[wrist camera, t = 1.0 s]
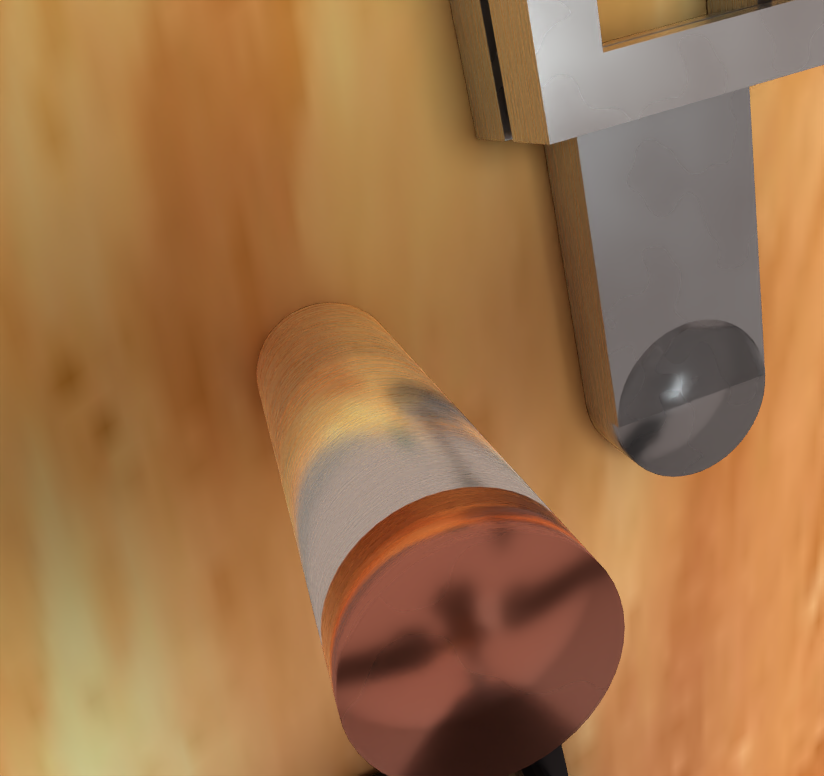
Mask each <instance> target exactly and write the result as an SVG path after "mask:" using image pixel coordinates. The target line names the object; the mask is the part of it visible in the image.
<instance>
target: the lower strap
mask: <svg viewBox="0 0 824 776" xmlns="http://www.w3.org/2000/svg"><path fill="white" fill-rule="evenodd" d="M769 2H772V0H707V8H708V14H707V15H703V16H700V17H696V18H692V19H689V20H685V21H681V22H678V23H674V24H670V25H667V26H663V27H659V28H656V29H652V30H648V31H645V32H641V33H637V34H633V35H630V36H626V37H622V38H619V39H615V40H611V41H608V42H604V43H602V47H603V48H604V47H607V46H611V45H615V44H618V43H622V42H626V41H629V40H633V39H637V38H640V37H644V36H648V35H651V34H655V33H659V32H662V31H666V30H670V29H673V28H677V27H681V26H684V25H688V24H692V23H695V22H699V21H703V20H706V19H710V18H714V17H717V16H721V15H725V14H728V13H732V12H736V11H739V10H743V9H747V8H750V7H754V6H758V5H761V4H765V3H769ZM450 5H451V10H452V15H453V20H454V25H455V30H456V35H457V41H458V46H459V51H460V56H461V61H462V66H463V71H464V76H465V81H466V86H467V91H468V97H469V102H470V107H471V112H472V117H473V122H474V127H475V132H476V137H477V139H483V140H496V141H508V140H511V139H513V138H512V132H511V126H510V121H509V115H508V109H507V104H506V98H505V93H504V87H503V81H502V76H501V70H500V64H499V59H498V53H497V48H496V42H495V36H494V31H493V25H492V19H491V14H490V8H489V3H488V0H450ZM544 147H545V153H546V159H547V165H548V172H549V178H550V184H551V190H552V196H553V202H554V209H555V215H556V221H557V227H558V233H559V239H560V246H561V252H562V258H563V264H564V270H565V276H566V283H567V289H568V295H569V301H570V307H571V313H572V320H573V326H574V332H575V338H576V344H577V350H578V357H579V363H580V369H581V375H582V381H583V387H584V394H585V400H586V405H587V410H588V414H589V416H590V419H591V421H592V423H593V425H594V426H595V428H596V429H597V431H598V432H599V433H600V434H601V435H602V436H603V437H604V438H605V439H606V440H607V441H609V442H610V443H611V444H613V445H614V446H615V447H616V448H618V449H619V450H620V451H622V452H623V453H624V454H625V455H627V456H628V457H629V458H631V459H632V460H633V461H634V462H636V463H637V464H638V465H640V466H641V467H643V468H644V469H646V470H647V471H650V472H652V473H655V474H658V475H662V476H671V477H675V476H685V475H690V474H694V473H697V472H700V471H702V470H705V469H707V468H709V467H711V466H712V465H714V464H716V463H718V462H719V461H720V460H722V459H723V458H724V457H726V456H727V455H728V454H729V453H730V452H731V451H732V450H734V449H735V447H736V446H737V445H738V444H739V443H740V442H741V441H742V439H743V438H744V437H745V435H746V434H747V433H748V431H749V430H750V428H751V426H752V425H753V423H754V421H755V419H756V416H757V414H758V412H759V409H760V406H761V403H762V399H763V395H764V387H765V366H764V348H763V329H762V311H761V293H760V275H759V256H758V238H757V220H756V202H755V183H754V165H753V147H752V129H751V110H750V92H749V87H746V88H742V89H739V90H735V91H732V92H728V93H725V94H722V95H718V96H715V97H711V98H708V99H705V100H701V101H698V102H694V103H691V104H687V105H684V106H681V107H677V108H674V109H670V110H667V111H664V112H660V113H657V114H653V115H650V116H646V117H643V118H640V119H636V120H633V121H629V122H626V123H622V124H619V125H616V126H612V127H609V128H605V129H602V130H599V131H595V132H592V133H588V134H585V135H581V136H578V137H575V138H571V139H568V140H564V141H561V142H558V143H554V144H551V145H547V144H544Z"/></svg>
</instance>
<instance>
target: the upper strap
mask: <svg viewBox="0 0 824 776" xmlns="http://www.w3.org/2000/svg"><path fill="white" fill-rule="evenodd" d="M488 3H489V8H490V14H491V19H492V25H493V31H494V36H495V42H496V48H497V53H498V59H499V64H500V70H501V76H502V81H503V87H504V93H505V98H506V104H507V109H508V115H509V121H510V126H511V132H512V138H513V142H521V143H534V144H547V145H551V144H554V143H558V142H561V141H564V140H568V139H571V138H575V137H578V136H581V135H585V134H588V133H592V132H595V131H599V130H602V129H605V128H609V127H612V126H616V125H619V124H622V123H626V122H629V121H633V120H636V119H640V118H643V117H646V116H650V115H653V114H657V113H660V112H664V111H667V110H670V109H674V108H677V107H681V106H684V105H687V104H691V103H694V102H698V101H701V100H705V99H708V98H711V97H715V96H718V95H722V94H725V93H728V92H732V91H735V90H739V89H742V88H746V87H749V86H752V85H756V84H759V83H763V82H766V81H769V80H773V79H776V78H780V77H783V76H787V75H790V74H793V73H797V72H800V71H804V70H807V69H811V68H814V67H817V66H821V65H824V0H772V2H769V3H765V4H761V5H758V6H754V7H750V8H747V9H743V10H739V11H736V12H732V13H728V14H725V15H721V16H717V17H714V18H710V19H706V20H703V21H699V22H695V23H692V24H688V25H684V26H681V27H677V28H673V29H670V30H666V31H662V32H659V33H655V34H651V35H648V36H644V37H640V38H637V39H633V40H629V41H626V42H622V43H618V44H615V45H611V46H607V47H604V48H603V47H602V39H601V31H600V23H599V15H598V7H597V0H488Z"/></svg>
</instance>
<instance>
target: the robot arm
mask: <svg viewBox="0 0 824 776" xmlns="http://www.w3.org/2000/svg"><path fill="white" fill-rule="evenodd" d="M373 776H388V775H386V774H384V773H382V772H380V773H377V774H375V775H373ZM507 776H568V773H567V768H566V764H565V759H564V755H563V750H562V746H561V745H560V746H558V747H557V748H556V749H554V750H553V751H552V752H550V753H549V754H548V755H546V756H544V757H543V758H541V759H539V760H538V761H536V762H535V763H533V764H531V765H529V766H527V767H525V768H523V769H521V770H519V771H517V772H515V773H512V774H510V775H507Z"/></svg>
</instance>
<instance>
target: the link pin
mask: <svg viewBox="0 0 824 776" xmlns="http://www.w3.org/2000/svg"><path fill="white" fill-rule="evenodd" d="M257 385H258V389H259V393H260V397H261V401H262V406H263V410H264V414H265V418H266V422H267V426H268V430H269V434H270V438H271V442H272V446H273V450H274V454H275V458H276V462H277V466H278V470H279V474H280V478H281V482H282V486H283V490H284V494H285V498H286V502H287V506H288V511H289V515H290V519H291V523H292V527H293V531H294V535H295V539H296V543H297V547H298V551H299V555H300V559H301V563H302V567H303V571H304V575H305V579H306V583H307V587H308V591H309V595H310V599H311V603H312V607H313V611H314V616H315V620H316V624H317V628H318V632H319V636H320V640H321V644H322V648H323V652H324V656H325V660H326V664H327V668H328V672H329V676H330V680H331V684H332V688H333V692H334V696H335V700H336V704H337V708H338V712H339V716H340V719H341V723H342V727H343V729H344V731H345V733H346V735H347V737H348V739H349V741H350V742H351V744H352V745H353V747H354V748H355V749H356V751H357V752H358V753H359V754H360V755H361V756H362V757H363V758H364V759H365V760H366V761H367V762H368V763H369V764H370V765H372V766H373V767H375V768H376V769H377V770H379V771H380V772H382V773H384V774H386V775H388V776H507V775H510V774H512V773H515V772H517V771H519V770H521V769H523V768H525V767H527V766H529V765H531V764H533V763H535V762H536V761H538V760H539V759H541V758H543V757H544V756H546V755H548V754H549V753H550V752H552V751H553V750H554V749H556V748H557V747H558V746H560V745H561V744H562V743H563V742H565V741H566V740H567V739H568V738H569V737H570V736H571V735H572V734H573V733H575V732H576V731H577V730H578V729H579V727H580V726H581V725H582V724H583V723H584V722H585V721H586V720H587V719H588V718H589V716H590V715H591V714H592V712H593V711H594V710H595V708H596V707H597V706H598V704H599V703H600V701H601V700H602V698H603V696H604V695H605V693H606V691H607V690H608V688H609V686H610V684H611V682H612V679H613V677H614V675H615V673H616V670H617V667H618V664H619V661H620V658H621V653H622V648H623V643H624V628H625V626H624V614H623V608H622V604H621V600H620V596H619V594H618V592H617V589H616V587H615V585H614V583H613V581H612V580H611V578H610V576H609V575H608V573H607V572H606V570H605V569H604V568H603V567H602V566H601V565H600V564H599V563H598V562H597V561H596V559H595V558H594V557H593V556H592V555H591V554H590V553H589V552H588V551H587V550H586V549H585V547H584V546H583V545H582V544H581V543H580V542H579V541H578V540H577V539H576V538H575V536H574V535H573V534H572V533H571V532H570V531H569V530H568V529H567V528H566V527H565V526H564V524H563V523H562V522H561V521H560V520H559V519H558V518H557V517H556V516H555V515H554V513H553V512H552V511H551V510H550V509H549V508H548V507H547V506H546V505H545V504H544V503H543V501H542V500H541V499H540V498H539V497H538V496H537V495H536V494H535V493H534V492H533V490H532V489H531V488H530V487H529V486H528V485H527V484H526V483H525V482H524V481H523V480H522V478H521V477H520V476H519V475H518V474H517V473H516V472H515V471H514V470H513V469H512V467H511V466H510V465H509V464H508V463H507V462H506V461H505V460H504V459H503V458H502V457H501V455H500V454H499V453H498V452H497V451H496V450H495V449H494V448H493V447H492V446H491V445H490V443H489V442H488V441H487V440H486V439H485V438H484V437H483V436H482V435H481V434H480V432H479V431H478V430H477V429H476V428H475V427H474V426H473V425H472V424H471V423H470V422H469V420H468V419H467V418H466V417H465V416H464V415H463V414H462V413H461V412H460V411H459V409H458V408H457V407H456V406H455V405H454V404H453V403H452V402H451V401H450V400H449V399H448V397H447V396H446V395H445V394H444V393H443V392H442V391H441V390H440V389H439V388H438V386H437V385H436V384H435V383H434V382H433V381H432V380H431V379H430V378H429V377H428V376H427V374H426V373H425V372H424V371H423V370H422V369H421V368H420V367H419V366H418V365H417V363H416V362H415V361H414V360H413V359H412V358H411V357H410V356H409V355H408V354H407V353H406V351H405V350H404V349H403V348H402V347H401V346H400V345H399V344H398V343H397V342H396V340H395V339H394V338H393V337H392V336H391V335H390V334H389V333H388V332H387V331H386V330H385V328H384V327H383V326H382V325H381V324H380V323H379V322H378V321H377V320H376V319H375V318H373V317H372V316H371V315H369V314H368V313H366V312H365V311H363V310H361V309H358V308H356V307H353V306H350V305H347V304H341V303H320V304H315V305H310V306H307V307H304V308H302V309H299V310H297V311H295V312H294V313H292V314H290V315H289V316H287V317H286V318H284V319H283V320H282V321H281V322H280V323H279V324H278V325H277V326H276V327H275V328H274V329H273V330H272V331H271V333H270V334H269V335H268V337H267V339H266V340H265V342H264V344H263V346H262V349H261V351H260V354H259V358H258V363H257Z"/></svg>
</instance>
